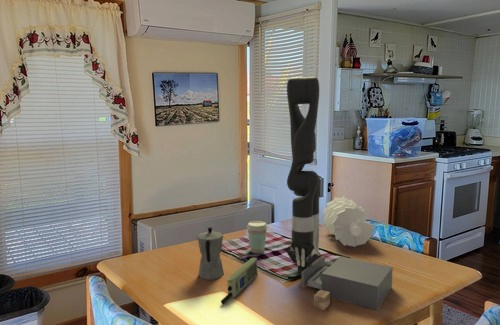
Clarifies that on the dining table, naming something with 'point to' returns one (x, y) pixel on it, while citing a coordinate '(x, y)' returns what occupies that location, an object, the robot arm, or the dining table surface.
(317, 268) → the tray
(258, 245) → the coffee cup
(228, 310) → the dining table surface
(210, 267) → the coffeepot
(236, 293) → the handheld radio
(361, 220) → the spiral staircase
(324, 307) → the pedestal
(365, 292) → the block
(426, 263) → the dining table surface
